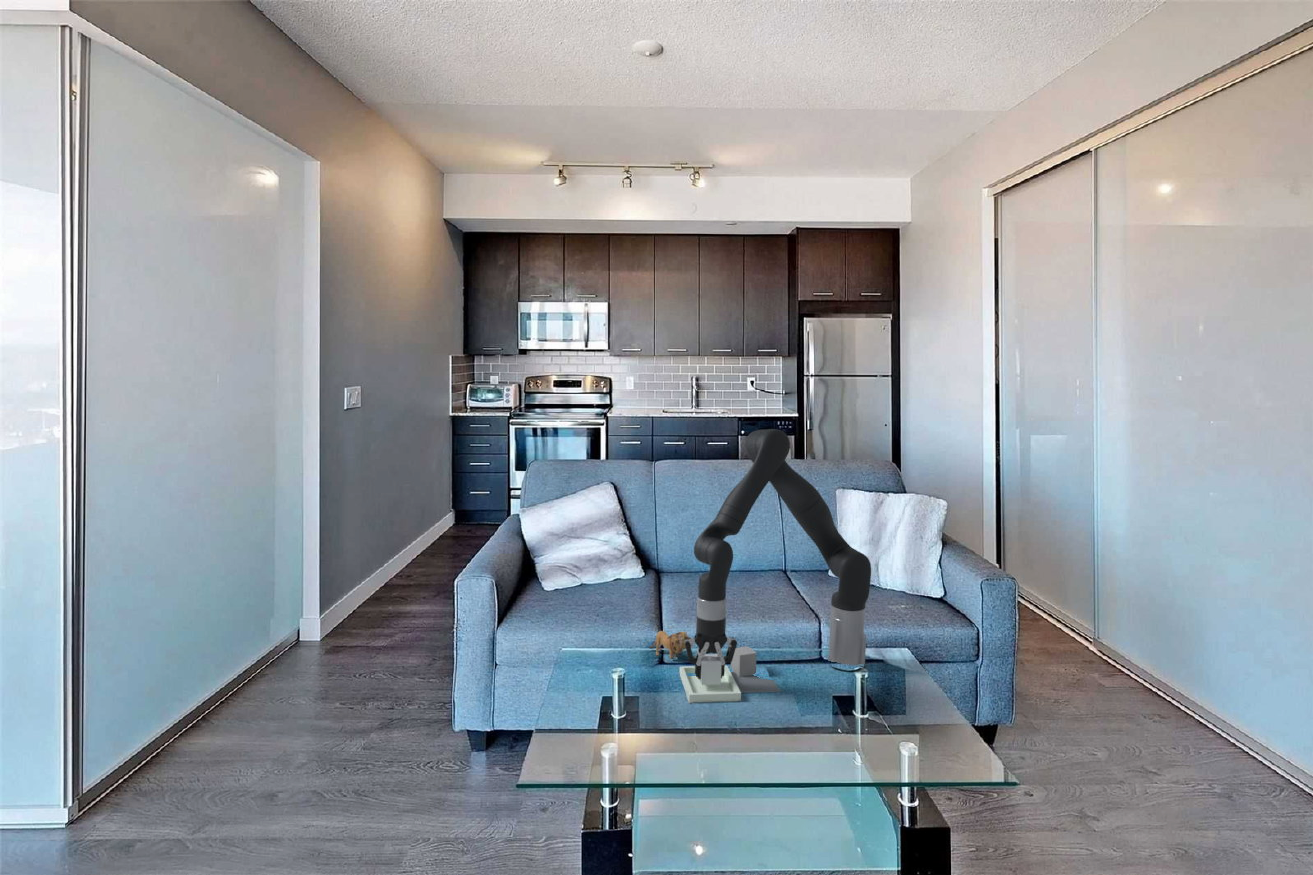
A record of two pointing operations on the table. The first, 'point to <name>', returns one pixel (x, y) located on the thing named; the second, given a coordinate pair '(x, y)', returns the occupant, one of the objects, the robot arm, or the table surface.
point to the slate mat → (754, 684)
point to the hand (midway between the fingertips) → (709, 677)
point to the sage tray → (709, 687)
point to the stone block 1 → (710, 670)
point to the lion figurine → (670, 642)
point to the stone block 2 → (744, 661)
